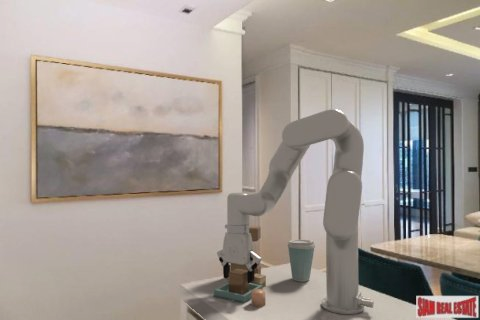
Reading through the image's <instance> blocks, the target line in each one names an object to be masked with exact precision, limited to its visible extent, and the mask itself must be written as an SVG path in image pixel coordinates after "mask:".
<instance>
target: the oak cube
mask: <svg viewBox="0 0 480 320" xmlns="http://www.w3.org/2000/svg"><path fill="white" fill-rule="evenodd" d="M266 282H267V278H266V275H265V274H262V273H261V274H255V278H254V281H253V282H251V283H252V284H257V285H262V286H263V289H264V288H265V287H266V285H267V283H266Z"/></svg>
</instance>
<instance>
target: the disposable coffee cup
mask: <svg viewBox="0 0 480 320" xmlns="http://www.w3.org/2000/svg"><path fill="white" fill-rule="evenodd" d="M287 248H288V255H289V263H290V271H291V278H292V280H293V281H296V282H308V281H310V278H311V271H312V265H313V259H314V252H315V248H316V245H315V242H314V240H312V239H292V240H289V241H288V242H287Z"/></svg>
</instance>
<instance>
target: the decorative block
mask: <svg viewBox="0 0 480 320" xmlns="http://www.w3.org/2000/svg"><path fill="white" fill-rule="evenodd" d="M261 229H262V228H261V226H260V225H249V233H251V237H252V243H253V242H257V241H259V240H260V239H261V235H262V234H261V232H262V231H261ZM253 263H255V261H253ZM229 265H230V271H233V270H235V269H242V270H247V271H249V269H248V268H247V266H246V265H238V264H233V263H229ZM255 274H261V275H262V267H261V265H260V264H259V266H258V267H257V268H256V269H255Z"/></svg>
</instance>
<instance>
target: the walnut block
mask: <svg viewBox="0 0 480 320" xmlns="http://www.w3.org/2000/svg"><path fill="white" fill-rule="evenodd" d="M247 272H248V271H247V270H242V269H235V270H233V271H230V272H229V277H228V282H229V292H233V293H237V294H241V295H244V294H245V293H247V292H249V283H248V282H247Z"/></svg>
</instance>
